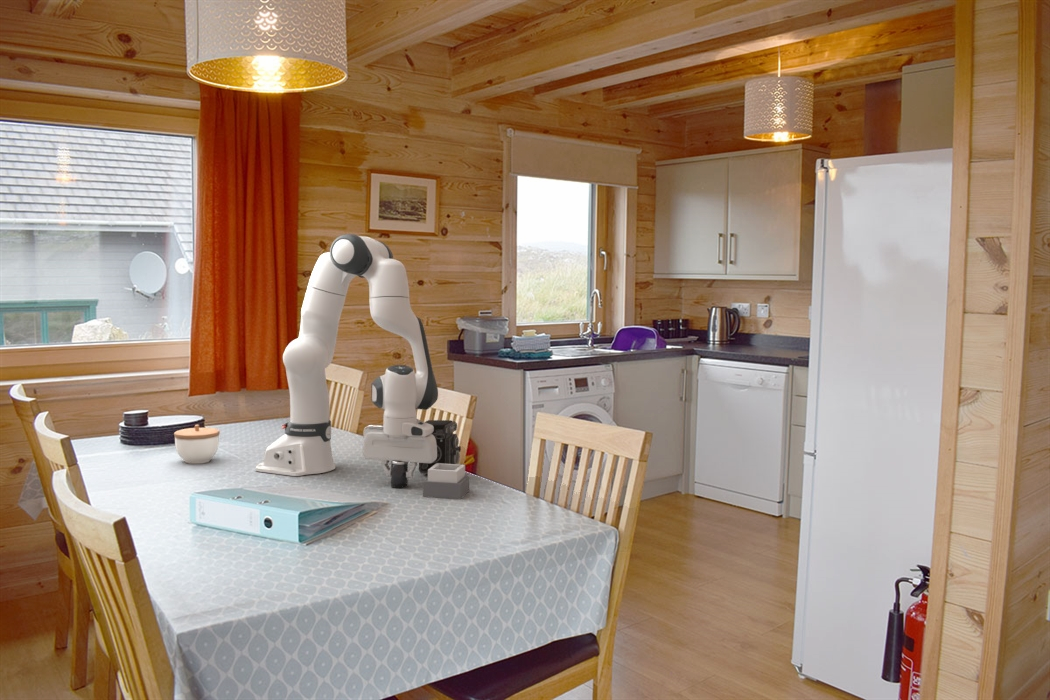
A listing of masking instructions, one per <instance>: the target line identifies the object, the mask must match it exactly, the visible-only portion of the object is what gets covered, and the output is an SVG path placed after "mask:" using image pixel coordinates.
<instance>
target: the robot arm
mask: <svg viewBox="0 0 1050 700" xmlns="http://www.w3.org/2000/svg"><path fill="white" fill-rule="evenodd" d="M407 275H408V274H407V270H406V267H405V265H404V264H403V263H402V261H399V260H397V259H394V255H393V252H392V250H391V248H390V247H389V246H388V245H386V243H384V242H382V241H380V240H377V239H374V238H372V237H369V236H362V235H357V234H353V233H352V234H351V233H348V234H347V233H346V234H341V235H339V236H338V237H336V238H335V239H334V240H333V242H332V243H331V245H330V248H329V251H328V252H324V253H322V254H321V255H319V257H318V259H317V261H316V262H315V264H314V267H313V270H312V272H311V275H310V277H309V280H308V284H307V288H306V292H305V294H304V299H303V302H302V306H301V308H300V309H301V311H300V316H301V317H300V326H299V334H298V338H295V339H293V340H291V341H290V342H289V343H288V345H286V347H285V349H284V351H283V354H282V362H283V365H284V367H285V372H286V373H285V374H286V379H287V385H288V390H289V408H290V410H289V411H290V412H289V413H290V414H289V418H290V420H289V421H287V422H285V423H284V424H282V425H281V429H282V430H284V434H282V435H281V436H280V437H279V438H277V439H276V440H275V441H274V442H272V443H271V444H269V445H268V446H267V447H266V448H265V452H264V456H263V461H262V462H260V463H258V464H257V465H256V466H255V471H256V472H261V473H269V474H275V475H276V474H277V475H283V476H284V475H285V476H291V477H292V476H293V477H300V476H305V475H306V476H307V475H317V474H321V473H328V472H331V471H333V470H335V469H336V465H335V461H334V457H333V453H332V452H333V451H332V445H331V439H332V421H331V419H330V392H329V388H328V384H327V382H328V381H327V377H326V368H328V367H329V366H330V364H331V363H332V361H333V359H334V356H335V349H336V344H337V339H338V331H339V326H340V318H341V315H342V312H343V309H344V305H345V301H346V298H347V295H348V294H347V293H348V289H349V286H350V283H351V282H352V281H353V279H354V278H356V277H359V278H360V279H361V278H362V279H363V278H364V279H366V281H367V284H368V288H369V289H368V290H369V291H368V293H369V295H368V296H369V301H368V302H369V312H370V317H371V318H372V319H371V320H373V322H374V323H375V324H376V325H377V326H378V327H380V328H381V329H383V330H385V331H386V332H388V333H392V334H395V335H397V336H399V337H402V338H404V339H405V340H406V341H407V342H408V343H409V345H410V347H411V351H412V355H413V361H414V367H415V369H414V368H413V367H411V366H409V365H404V364H393V365H390V366H387V368H386V369H385V372H384V374H383V375H379V376H377V377H376V378H375V379H374V380H373V381H372V383H371V393H370V394H371V403H372V404H373V405H374V406H376V407H377V408H378V409H381V410H384V411H383V417H382V418H383V419H382V420H383V424H377V425H375V424H368V425H366V426H365V427H364V428H363V430H362V431H363V436H362V437H363V445H362V456H363V458H364V459H365V460H374V461H375V460H376V461H377V460H378V461H381V466H382V467H383V469H384V470H385V477H386V478H387V477H389V478H391V466H389V463H390V462H391V461H402V462H408V463H409V467H411V468H410V469H408V471H407V472H406V478H408V479H413V478H414V471H415V470H416V468H417V466H418V464H419V463H433V462H434V461H435V460H436V459H437V444H436V439H435V437H434V435H432V434H431V433H433V431H434V427H433V425H431V424H428V423H426V421H423V420H421V419H418V418H417V410H424V411H425V410H426V411H427V410H429V409H431V407H432V406H434V404H435V403H436V402H437V401H438V398H439V388H438V383H437V380H436V377H435V375H434V371H433V369H434V368H433V365H432V360H431V356H430V355H431V354H430V349H429V345H428V339H427V335H426V331H425V327H424V324H423V322H422V320H421V318H420V317H418V316H417V315H416V314H415V313H414V311H413V310H412V306H411V302H410V301H411V300H410V287H409V280H408V279H409V278H408V276H407ZM415 370H416V372H415Z"/></svg>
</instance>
